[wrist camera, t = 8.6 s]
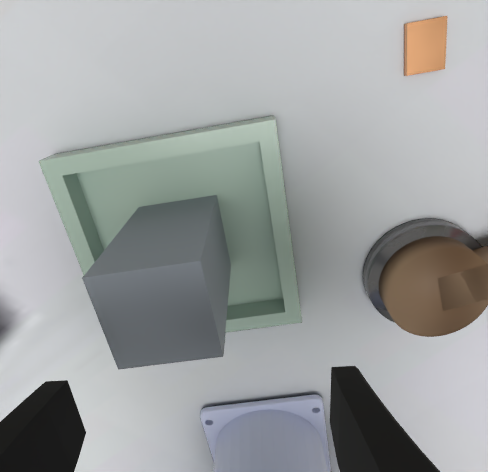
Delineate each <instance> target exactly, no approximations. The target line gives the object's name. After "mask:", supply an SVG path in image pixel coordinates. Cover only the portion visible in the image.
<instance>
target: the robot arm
mask: <svg viewBox="0 0 488 472" xmlns="http://www.w3.org/2000/svg"><path fill="white" fill-rule="evenodd" d="M315 407H317V408H315ZM200 419H201V422H202V425H203V428H204V432H205V435H206V438H207V441H208V445H209V448H210V451H211V455H212V458H213V461H214V472H331V467H330V459H329V450H328V441H327V433H326V424H325V416H324V407H323V401H322V398H321V397H320V396H319V395H306V396H298V397H289V398H281V399H272V400H264V401H255V402H247V403H238V404H230V405H221V406H213V407H206V408H203V409H202V410H201V412H200ZM330 425H331V430H332V436H333V441H334V446H335V452H336V457H337V462H338V466H339V469H340V472H440V471H439V470H438V469H437V468H436V467H435V465H434V464H433V463H432V462H431V461H430V460H429V459H428V458H427V457H426V455H425V454H424V453H423V452H422V451H421V450H420V449H419V447H418V446H417V445H416V444H415V443H414V442H413V440H412V439H411V438H410V437H409V435H408V434H407V433H406V432H405V431H404V429H403V428H402V427H401V426H400V425H399V423H398V422H397V421H396V420H395V418H394V417H393V416H392V415H391V413H390V412H389V411H388V410H387V408H386V407H385V406H384V404H383V403H382V402H381V400H380V399H379V398H378V396H377V395H376V394H375V392H374V391H373V390H372V388H371V387H370V385H369V384H368V383H367V381H366V380H365V378H364V377H363V375H362V374H361V372H360V371H359V369H358V368H356V367H355V366H346V367H332V370H331V404H330ZM85 434H86V431H85V429H84V426H83V423H82V420H81V417H80V415H79V412H78V409H77V406H76V403H75V401H74V398H73V395H72V392H71V389H70V386H69V384H68V381H48V382H45V383H44V384H42V385H41V386H40V387H39V388H38V389H36V390H35V391H34V392H33V393H32V394H31V395H30V396H29V397H27V398H26V399H25V400H24V401H23V402H22V403H21V404H20V405H19V406H17V407H16V408H15V409H14V410H13V411H12V412H11V413H10V414H9V415H7V416H6V417H5V418H4V419H3V420H2V421H1V422H0V472H74V470H75V467H76V464H77V461H78V458H79V455H80V451H81V448H82V444H83V441H84V437H85Z"/></svg>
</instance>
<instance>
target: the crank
mask: <svg viewBox="0 0 488 472" xmlns="http://www.w3.org/2000/svg"><path fill="white" fill-rule="evenodd" d="M379 294H380V297H381V299H382V301H383V303H384V305H385V307H386V308H387V310H388V312H389V313H390V315H391V317H392V319H393V320H394V321H395V323H396V324H397V325H398V326H399V327H401V328H402V329H404V330H405V331H407V332H409V333H412V334H415V335H419V336H427V337H434V336H442V335H446V334H450V333H453V332H455V331H458V330H460V329H462V328H464V327H466V326H467V325H469V324H470V323H472V322H473V321H474V320H475V319H477V318H478V317H479V316H480V315H481V314H482V312H483V311H484V310H485V308H486V307H487V305H488V246H485V247H482V248H478V249H475V250H471V249H470V248H468V247H467V246H466V245H465V244H463V243H461V242H460V241H458V240H455V239H453V238H449V237H443V236H432V237H425V238H421V239H418V240H415V241H413V242H411V243H408V244H407V245H405V246H403V247H402V248H400V249H399V250H398V251H396V252H395V253H394V254H393V255H392V256H391V257H390V259H389V260H388V261H387V262H386V264H385V266H384V267H383V269H382V272H381V274H380V278H379Z"/></svg>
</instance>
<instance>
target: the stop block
mask: <svg viewBox="0 0 488 472" xmlns="http://www.w3.org/2000/svg"><path fill="white" fill-rule="evenodd" d="M230 272H231V262H230V257H229V253H228V248H227V243H226V238H225V233H224V228H223V223H222V218H221V213H220V208H219V203H218V198H217V195H212V196H206V197H199V198H193V199H187V200H180V201H174V202H167V203H161V204H155V205H148V206H142V207H138V209H137V210H136V211H135V212H134V214H133V215H132V216H131V217H130V219H129V220H128V221H127V222H126V224H125V225H124V226H123V227H122V229H121V230H120V231H119V232H118V234H117V235H116V236H115V237H114V239H113V240H112V241H111V242H110V244H109V245H108V246H107V247H106V249H105V250H104V251H103V253H102V254H101V255H100V256H99V258H98V259H97V260H96V261H95V263H94V264H93V265H92V266H91V268H90V269H89V270H88V271H87V273H86V274H85V275H84V276H83V281H84V284H85V286H86V289H87V291H88V294H89V296H90V299H91V301H92V304H93V306H94V309H95V311H96V314H97V317H98V319H99V322H100V324H101V327H102V329H103V332H104V334H105V337H106V339H107V342H108V344H109V347H110V350H111V352H112V355H113V357H114V360H115V362H116V365H117V367H118V369H126V368H134V367H142V366H150V365H158V364H166V363H174V362H182V361H190V360H198V359H207V358H215V357H223V355H224V343H225V331H226V319H227V307H228V295H229V283H230Z"/></svg>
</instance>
